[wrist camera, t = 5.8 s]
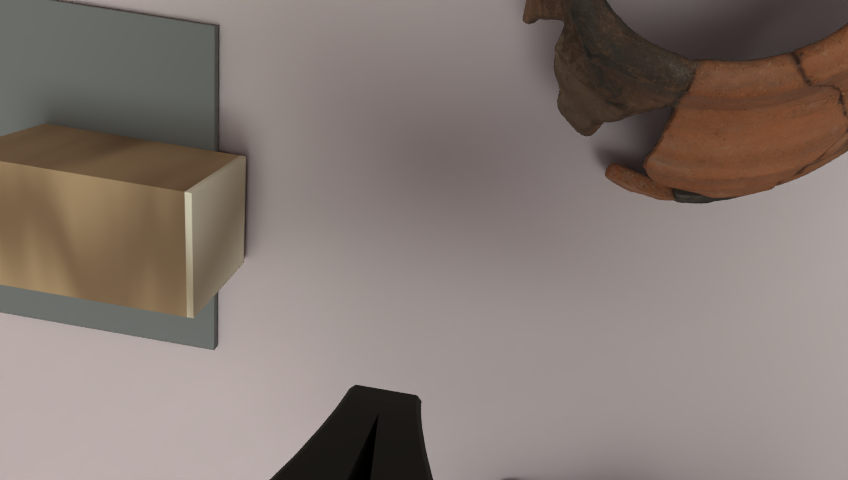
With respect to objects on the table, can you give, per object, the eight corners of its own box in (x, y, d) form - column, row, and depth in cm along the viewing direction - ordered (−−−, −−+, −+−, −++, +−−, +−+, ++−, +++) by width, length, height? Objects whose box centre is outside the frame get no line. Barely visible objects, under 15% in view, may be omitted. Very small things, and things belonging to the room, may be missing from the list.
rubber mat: (217, 345, 23) (213, 349, 23) (-2, 307, 24) (-8, 310, 23) (218, 25, 19) (214, 26, 18) (-56, -18, 19) (-64, -18, 19)
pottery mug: (515, 190, 20) (469, 113, 13) (578, -68, 21) (573, -300, 13) (925, 273, 17) (1220, 238, 9) (989, -38, 18) (1320, -329, 10)
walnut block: (193, 318, 18) (-30, 279, 18) (243, 262, 22) (57, 230, 22) (191, 192, 16) (-54, 152, 16) (246, 156, 20) (45, 123, 20)
